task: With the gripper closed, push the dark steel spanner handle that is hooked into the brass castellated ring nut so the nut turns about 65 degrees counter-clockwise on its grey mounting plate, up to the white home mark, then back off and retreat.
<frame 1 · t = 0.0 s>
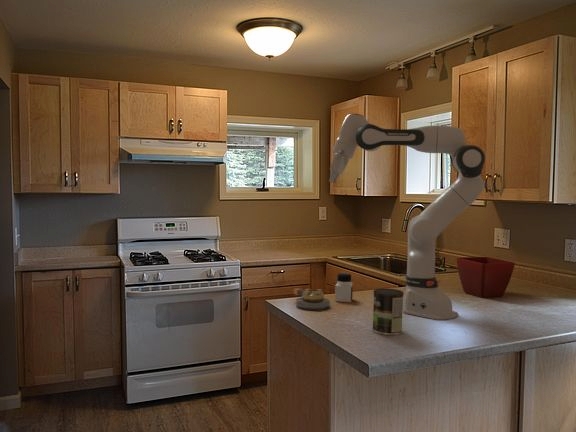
hand: (332, 182, 209), 52 cm above the countertop, tool tilted 20°, fingers open, 8 cm apart
plant pot: (483, 295, 238), on the countertop
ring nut: (307, 293, 211), point 5 cm above the countertop, hinge at 0.0°
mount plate: (312, 306, 208), on the countertop
coffee can: (387, 331, 174), on the countertop
medicine bottle: (343, 300, 221), on the countertop
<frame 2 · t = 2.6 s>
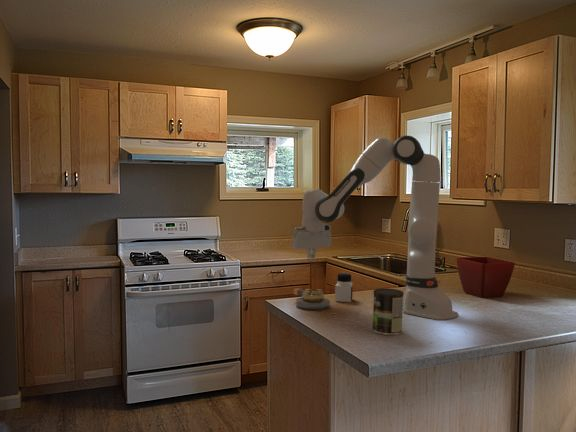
hand: (311, 258, 217), 19 cm above the countertop, tool pointing down, fingers closed
nothing on the countertop moved.
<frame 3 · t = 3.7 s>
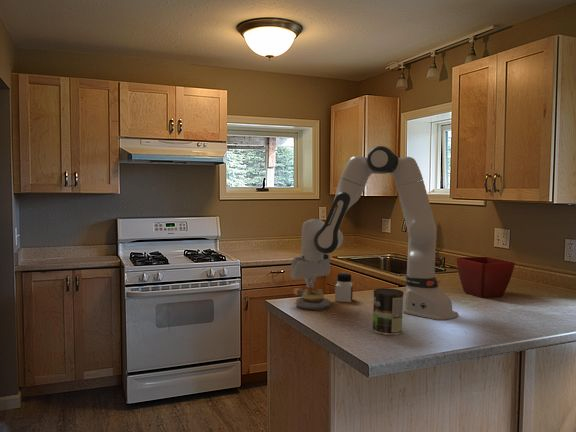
hand: (309, 287, 218), 6 cm above the countertop, tool pointing down, fingers closed
nothing on the countertop moved.
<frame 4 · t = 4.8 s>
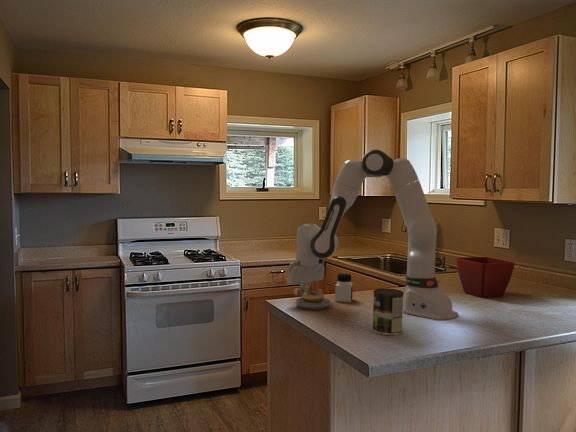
hand: (305, 292, 216), 4 cm above the countertop, tool pointing down, fingers closed
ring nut: (307, 293, 211), point 5 cm above the countertop, hinge at 0.0°, touching gripper
everything else where it was.
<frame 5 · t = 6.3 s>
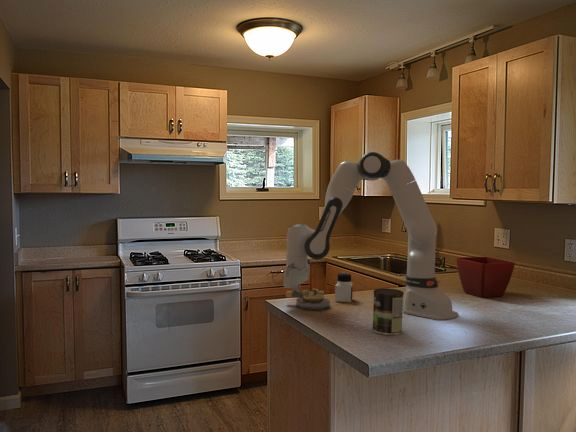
hand: (296, 294, 212), 4 cm above the countertop, tool pointing down, fingers closed
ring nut: (304, 294, 209), point 5 cm above the countertop, hinge at 36.6°, touching gripper
everything else where it was.
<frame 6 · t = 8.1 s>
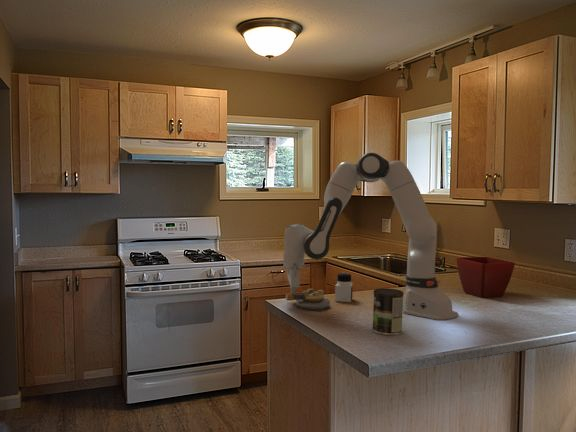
hand: (293, 294, 211), 4 cm above the countertop, tool pointing down, fingers closed
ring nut: (305, 295, 207), point 5 cm above the countertop, hinge at 68.7°
everything else where it was.
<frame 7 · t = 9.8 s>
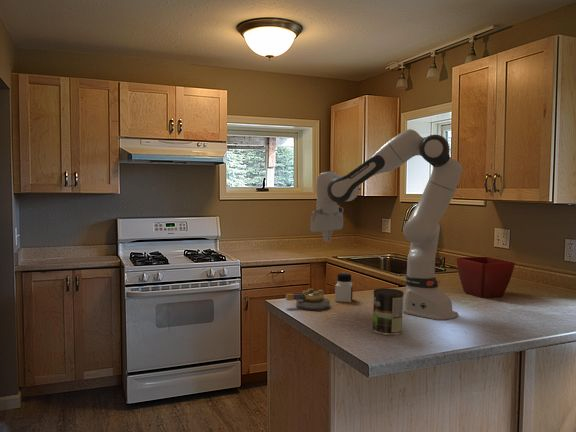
hand: (327, 241, 215), 27 cm above the countertop, tool pointing down, fingers closed
nothing on the countertop moved.
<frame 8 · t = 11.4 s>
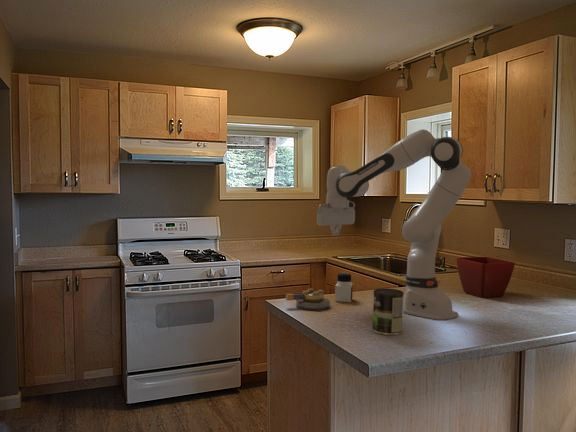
hand: (335, 235, 217), 29 cm above the countertop, tool pointing down, fingers closed
nothing on the countertop moved.
at the end: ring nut at +69° (first picture: +0°); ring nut touching nothing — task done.
